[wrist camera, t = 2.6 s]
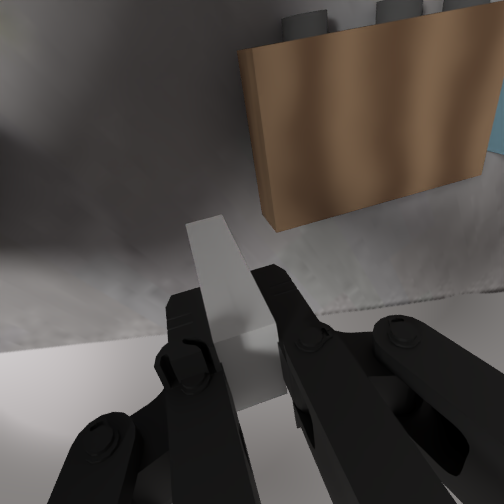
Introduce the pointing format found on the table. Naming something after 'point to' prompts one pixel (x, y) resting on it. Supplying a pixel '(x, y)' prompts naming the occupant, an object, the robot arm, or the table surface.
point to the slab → (372, 111)
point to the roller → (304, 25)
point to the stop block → (498, 127)
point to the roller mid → (397, 10)
